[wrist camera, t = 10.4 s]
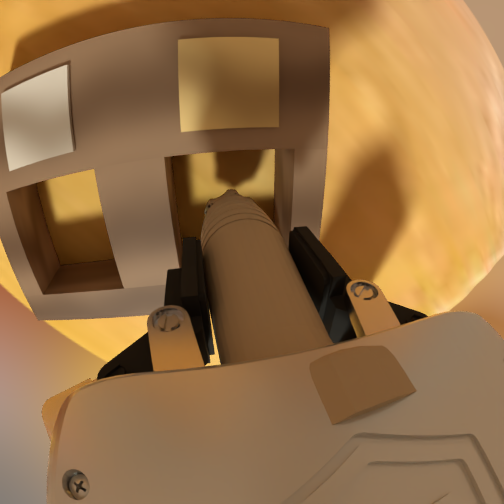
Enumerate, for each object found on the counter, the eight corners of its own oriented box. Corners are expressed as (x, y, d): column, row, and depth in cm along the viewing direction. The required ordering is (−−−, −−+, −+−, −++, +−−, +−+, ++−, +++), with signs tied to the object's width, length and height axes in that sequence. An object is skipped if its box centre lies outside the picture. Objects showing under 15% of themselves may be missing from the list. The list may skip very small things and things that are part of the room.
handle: (173, 238, 18) (168, 495, 5) (221, 150, 15) (348, 389, 3) (236, 264, 19) (302, 488, 7) (287, 187, 17) (460, 386, 5)
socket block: (6, 89, 11) (-28, 93, 7) (303, 39, 14) (331, 26, 10) (53, 290, 20) (37, 322, 16) (294, 265, 23) (312, 297, 20)
